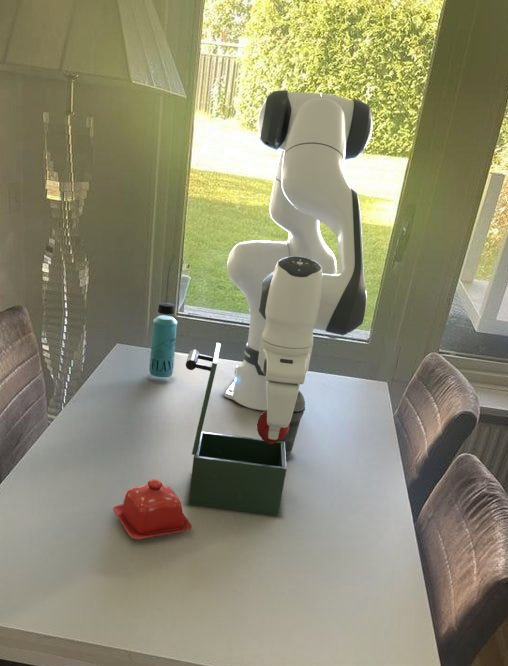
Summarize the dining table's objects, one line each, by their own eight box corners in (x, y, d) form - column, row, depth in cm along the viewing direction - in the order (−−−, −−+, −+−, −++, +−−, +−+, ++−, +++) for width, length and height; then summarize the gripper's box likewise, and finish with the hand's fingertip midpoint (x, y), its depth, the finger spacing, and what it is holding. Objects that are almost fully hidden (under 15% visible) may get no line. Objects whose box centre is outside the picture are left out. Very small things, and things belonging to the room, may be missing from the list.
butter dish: (109, 511, 124) (112, 469, 120) (169, 503, 128) (173, 462, 124) (131, 546, 115) (134, 502, 111) (195, 536, 119) (200, 493, 115)
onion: (287, 452, 125) (294, 411, 121) (255, 449, 125) (262, 408, 121) (283, 438, 130) (290, 399, 126) (253, 436, 130) (259, 396, 126)
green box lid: (221, 343, 125) (193, 336, 125) (217, 363, 115) (186, 356, 115) (201, 429, 134) (174, 423, 134) (196, 455, 123) (167, 449, 123)
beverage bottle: (146, 381, 182) (151, 305, 173) (151, 372, 188) (156, 299, 179) (170, 384, 182) (176, 308, 172) (174, 376, 188) (181, 302, 178)
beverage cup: (295, 465, 147) (311, 375, 137) (260, 459, 147) (275, 370, 138) (296, 451, 153) (313, 364, 143) (264, 445, 154) (278, 359, 144)
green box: (277, 486, 138) (284, 441, 133) (278, 516, 128) (286, 469, 123) (194, 475, 139) (199, 430, 134) (188, 504, 128) (193, 457, 124)
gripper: (265, 337, 129) (255, 406, 135) (266, 374, 111) (254, 451, 118) (299, 341, 129) (287, 410, 135) (306, 378, 111) (291, 456, 117)
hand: (272, 429), depth 126 cm, fingers closed on onion, 6 cm apart
